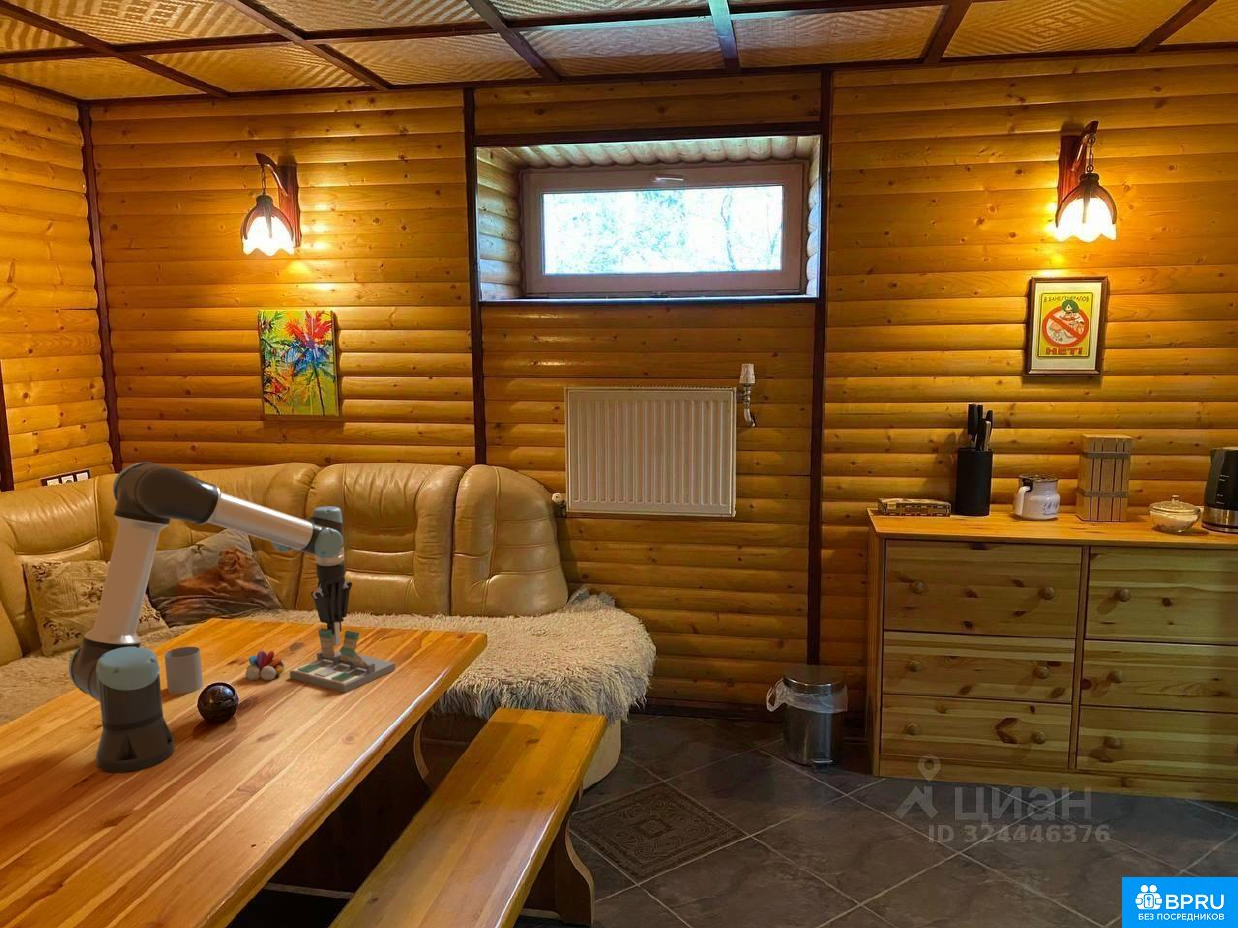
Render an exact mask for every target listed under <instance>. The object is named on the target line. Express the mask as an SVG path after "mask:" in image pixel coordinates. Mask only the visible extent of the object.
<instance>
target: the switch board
mask: <svg viewBox="0 0 1238 928" xmlns="http://www.w3.org/2000/svg"><path fill="white" fill-rule="evenodd" d="M334 653H335V656H333V657H332V658H333V661H330V660H326V659H323V658H322V650H321V651H318V652H316V658H317V659H316V660H314V661H312V662H309V663H306V664H304V665H301V666H298V667H297V668H294V669H292V670H290V671H289V678H290V679H291V680H292V679H293V680H294V681H295V680H296V681H298V682H299V681H300V682H303V683H306V684H312V685H315V686H319V687H321V688H326V689H330V690H333V691H337V692H340V693H345V694H346V693H348V692H350V691H352V690H354V689H356V688H359V687H361V686H363V685H365V684H368V683H370V682H372V681H374V680H377V679H379V678H380V677H383V676H385V675H388V674H389V673H392V672H394V671H396V662H393V661H388V660H384V659H379V658H375V657H373V656H368V655H363V654H358V653H356V654H357V655H358V656H359V657H360V658H361V659H362V660H363V661H364V662H365V663H366V664H367V665H366V666H367V669H363V668H359V667H356V666H355V665H354V664H353V663H352V662H351V661H349V665H347V664H343V663H339V662H338V661H339V659H340V656H341V652H340V650H339V651H338V650H337V652H334Z"/></svg>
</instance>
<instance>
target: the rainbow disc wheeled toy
mask: <svg viewBox="0 0 1238 928" xmlns="http://www.w3.org/2000/svg"><path fill="white" fill-rule="evenodd" d="M274 657H275V652H274V651H269V652H268V653H266V651H264V650H260V651H258V653H257V654H256V655H251V656H250V657H249V659H248V663H249V664H250V665H248V666H247V667H246V671H245V677H246V678H247V679H248V680H249V681H257V680H259V679H260V678H261V679H263V680H265V681H272V680H273V679H275V677H276V675H277V676H278V675H281V674H282V673H283V672H284V668H285V663H284V661H283V659H282V657H277V658H274Z"/></svg>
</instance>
